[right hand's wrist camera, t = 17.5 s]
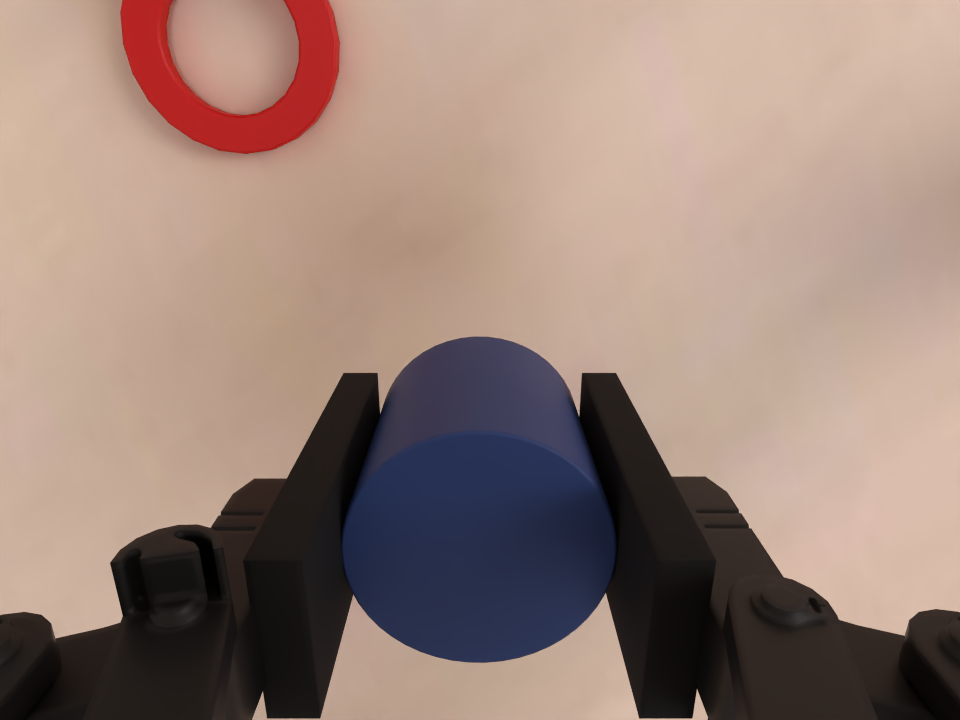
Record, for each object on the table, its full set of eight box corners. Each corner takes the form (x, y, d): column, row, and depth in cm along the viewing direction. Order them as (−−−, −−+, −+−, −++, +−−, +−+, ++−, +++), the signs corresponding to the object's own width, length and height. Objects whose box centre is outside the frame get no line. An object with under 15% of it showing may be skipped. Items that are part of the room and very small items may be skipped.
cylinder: (340, 418, 15) (281, 543, 11) (491, 294, 14) (496, 374, 10) (469, 544, 16) (464, 704, 12) (615, 438, 15) (673, 569, 11)
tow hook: (374, 108, 28) (273, -140, 24) (301, 123, 16) (82, -362, 12) (200, 179, 29) (80, -50, 25) (8, 243, 17) (-269, -173, 13)
